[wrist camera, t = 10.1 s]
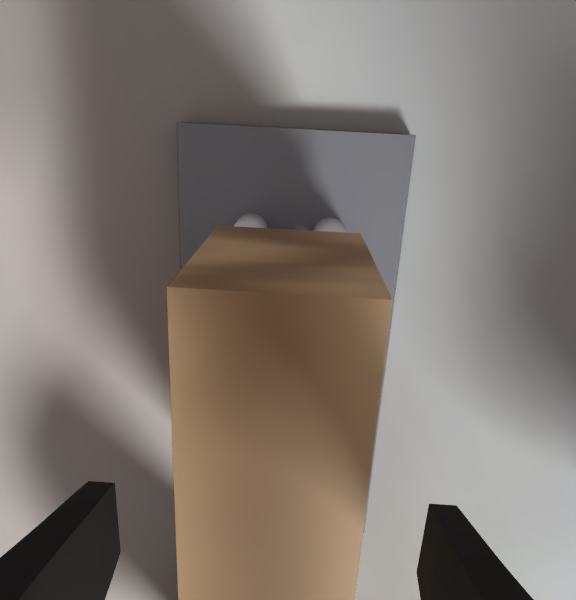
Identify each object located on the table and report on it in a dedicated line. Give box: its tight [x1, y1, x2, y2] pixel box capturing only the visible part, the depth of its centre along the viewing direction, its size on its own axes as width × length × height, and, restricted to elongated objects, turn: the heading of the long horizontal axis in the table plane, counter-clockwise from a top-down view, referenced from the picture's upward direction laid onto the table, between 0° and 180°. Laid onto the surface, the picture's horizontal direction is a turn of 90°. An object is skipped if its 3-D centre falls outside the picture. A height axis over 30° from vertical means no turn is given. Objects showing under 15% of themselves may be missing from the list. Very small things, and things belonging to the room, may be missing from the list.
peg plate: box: [177, 123, 416, 533], centre depth 19 cm, size 8×17×3 cm, turn 177°
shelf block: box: [167, 226, 393, 600], centre depth 15 cm, size 4×12×6 cm, turn 177°
